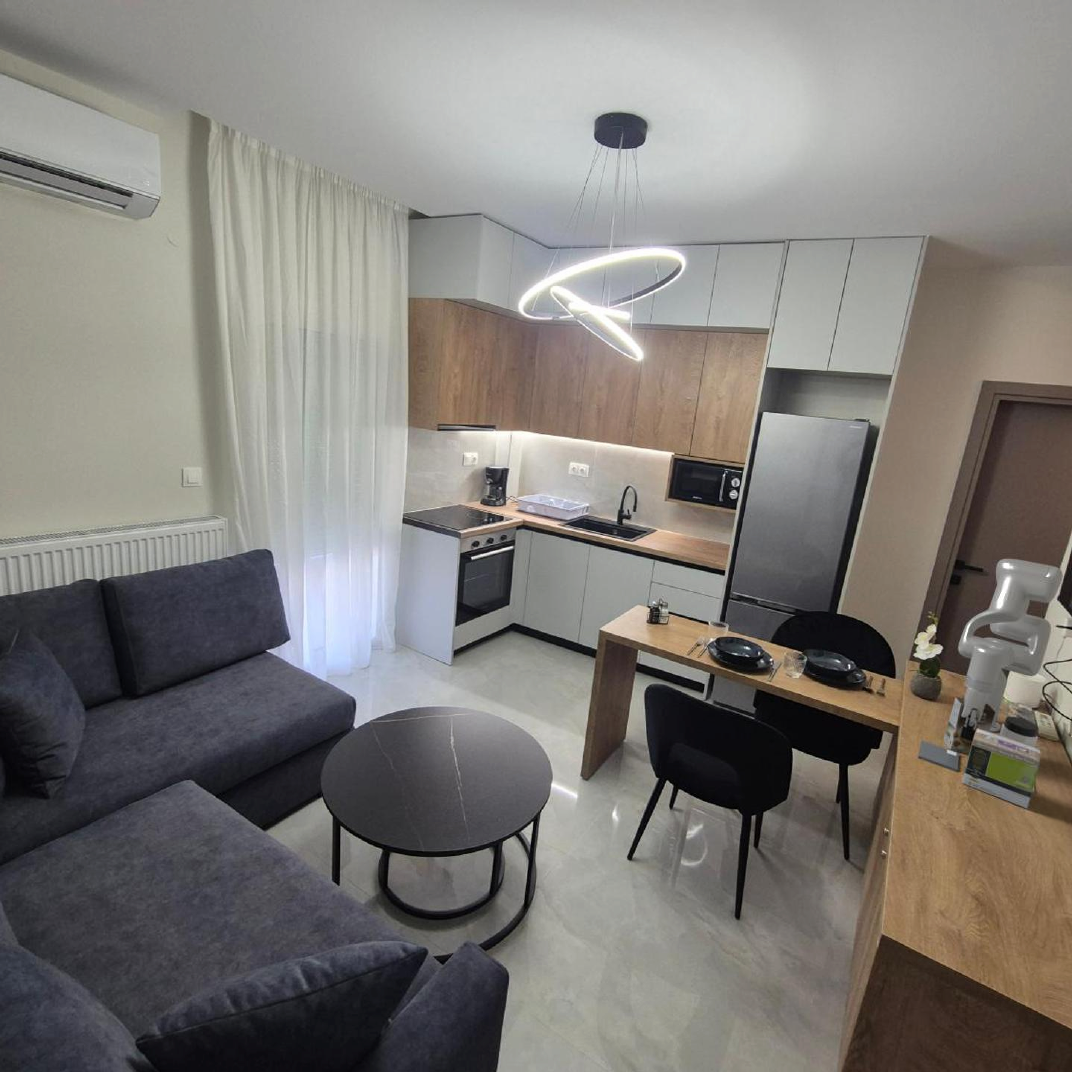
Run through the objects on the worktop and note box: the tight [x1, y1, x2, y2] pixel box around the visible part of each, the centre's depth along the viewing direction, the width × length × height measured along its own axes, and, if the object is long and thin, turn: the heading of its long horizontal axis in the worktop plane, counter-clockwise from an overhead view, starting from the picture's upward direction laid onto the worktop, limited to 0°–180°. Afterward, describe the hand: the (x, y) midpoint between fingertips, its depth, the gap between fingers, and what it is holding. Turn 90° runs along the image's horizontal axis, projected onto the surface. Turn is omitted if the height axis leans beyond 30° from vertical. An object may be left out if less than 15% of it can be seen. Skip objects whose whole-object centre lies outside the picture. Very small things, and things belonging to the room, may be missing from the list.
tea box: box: [962, 728, 1042, 809], centre depth 164 cm, size 15×10×15 cm
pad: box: [917, 740, 960, 772], centre depth 180 cm, size 12×10×1 cm
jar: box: [999, 716, 1040, 747], centre depth 182 cm, size 9×8×12 cm
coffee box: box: [943, 696, 995, 755], centre depth 184 cm, size 9×6×16 cm
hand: (966, 733), depth 185 cm, fingers closed on coffee box, 7 cm apart
